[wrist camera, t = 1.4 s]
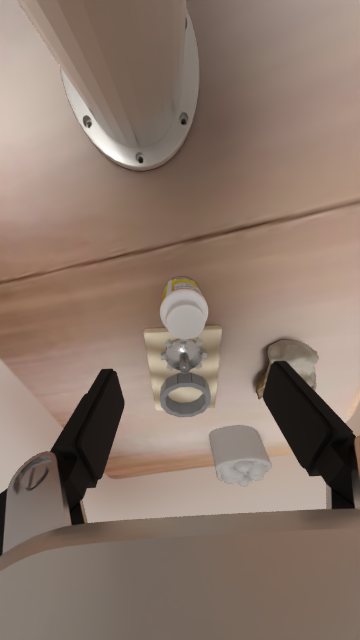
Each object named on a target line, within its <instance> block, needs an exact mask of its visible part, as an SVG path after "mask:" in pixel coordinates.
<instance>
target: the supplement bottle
mask: <svg viewBox="0 0 360 640" xmlns="http://www.w3.org/2000/svg"><path fill="white" fill-rule="evenodd" d="M160 317H161V320H162V322H163V324H164V325H165V327H166V328H167V329H168V331H169V332H170V333H171V334H172V335H173V336H174V337H176V338H179V339H191V338H194V337H196V336H197V335H199V334H200V333H201V332H202V330H203V328H204V326H205V322H206V320H207V317H208V306H207V303H206V300H205V299H204V297H203V295H202V293H201V291H200V290H199V288H198V286H197V284H196V283H195V282H194V281H193V280H192V279H190V278H188V277H184V276H179V277H175V278H173V279H171V280H170V281H169V282H168V283H167V284H166V286H165V288H164V292H163V297H162V302H161V307H160Z"/></svg>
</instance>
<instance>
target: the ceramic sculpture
mask: <svg viewBox="0 0 360 640" xmlns="http://www.w3.org/2000/svg"><path fill="white" fill-rule="evenodd" d="M267 353H268V357H269V360H270V363H269V366H268V369H267V372H266V373H265V374H264V375H263V376H262V377H261V378H260V379H259V380H258V382H257V384H256V393H257V395H258V399H260V398H261V397H263V392H264V388H265V384H266V381H267V377H268V373H269V370H270V366H271V364H273V362H274V361H286V362H288V363H289V364H290V366H291V367H292V368H293V369H294V370H295V371H296V372H297V373H298V374H299V375H300V376H301V377H302V378H303V379H304V380H305V381H306V382H307V384H308V385H309V386H310V387H311V388H312V389H313V390H314V391H315V389H316V374H315V368H314V365H315V364H316V362H317V361H318V359H319V357H318V355H317V352H316V351H315V350H313V349H312V348H311V347H309V346H308V345H306V344H304V343H301V342H298V341H291V340H280V341H278V342H276V343H274V344H272V345H270V346H269V347H268V352H267Z"/></svg>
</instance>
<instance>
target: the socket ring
mask: <svg viewBox="0 0 360 640" xmlns="http://www.w3.org/2000/svg"><path fill="white" fill-rule="evenodd" d="M179 387H193V388H195V389H198V390H201V392H202V393H203V394H202V395H201V396H200V397H199V398H198V399H196V400H194V401H192V402H186V403H180V402H177V401H174V400H172V399H171V398H170V397H169V396H168V394H169V393H170V392H171V391H173V390H175V389H177V388H179ZM160 403H161V407H162V408H163V409H164V410H165V411H166V412H167V413H169V414H171V415H174V416H177V417H192V416H195V415H197V414H200V413H202V412H204V411H205V410H206V409H207V408H208V406H209V405H210V403H211V393H210V389H209V385H208V383H207V382H206V381H205V379H204V378H203V377H202V376H199V375H197V374H194V373H191V372H188V373H187V374H182V373H178V374H175V375H173V376H171V377H168V378H167V379H166V380H165V381H164V383H163V384H162V386H161V391H160Z"/></svg>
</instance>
